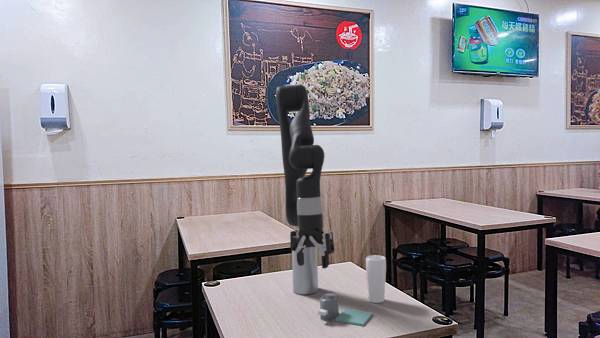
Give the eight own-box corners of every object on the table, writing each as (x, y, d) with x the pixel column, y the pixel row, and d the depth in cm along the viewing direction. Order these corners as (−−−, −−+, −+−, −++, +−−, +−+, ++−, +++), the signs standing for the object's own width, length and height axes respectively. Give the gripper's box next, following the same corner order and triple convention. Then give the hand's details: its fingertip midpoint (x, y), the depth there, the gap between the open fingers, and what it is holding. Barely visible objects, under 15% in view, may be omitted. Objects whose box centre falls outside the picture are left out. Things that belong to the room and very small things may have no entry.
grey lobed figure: (328, 310, 134) (327, 292, 134) (340, 312, 132) (340, 294, 132) (315, 321, 126) (314, 302, 125) (328, 324, 124) (328, 304, 123)
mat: (346, 309, 134) (346, 308, 134) (372, 314, 130) (372, 312, 130) (335, 320, 126) (335, 318, 126) (363, 326, 122) (363, 324, 122)
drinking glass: (390, 300, 141) (389, 257, 140) (379, 306, 136) (378, 261, 135) (373, 295, 146) (372, 254, 145) (362, 301, 141) (361, 258, 140)
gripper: (336, 211, 121) (340, 265, 121) (297, 210, 130) (300, 261, 130) (323, 214, 115) (326, 272, 115) (283, 213, 123) (286, 267, 124)
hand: (312, 266), depth 123 cm, fingers open, 8 cm apart
